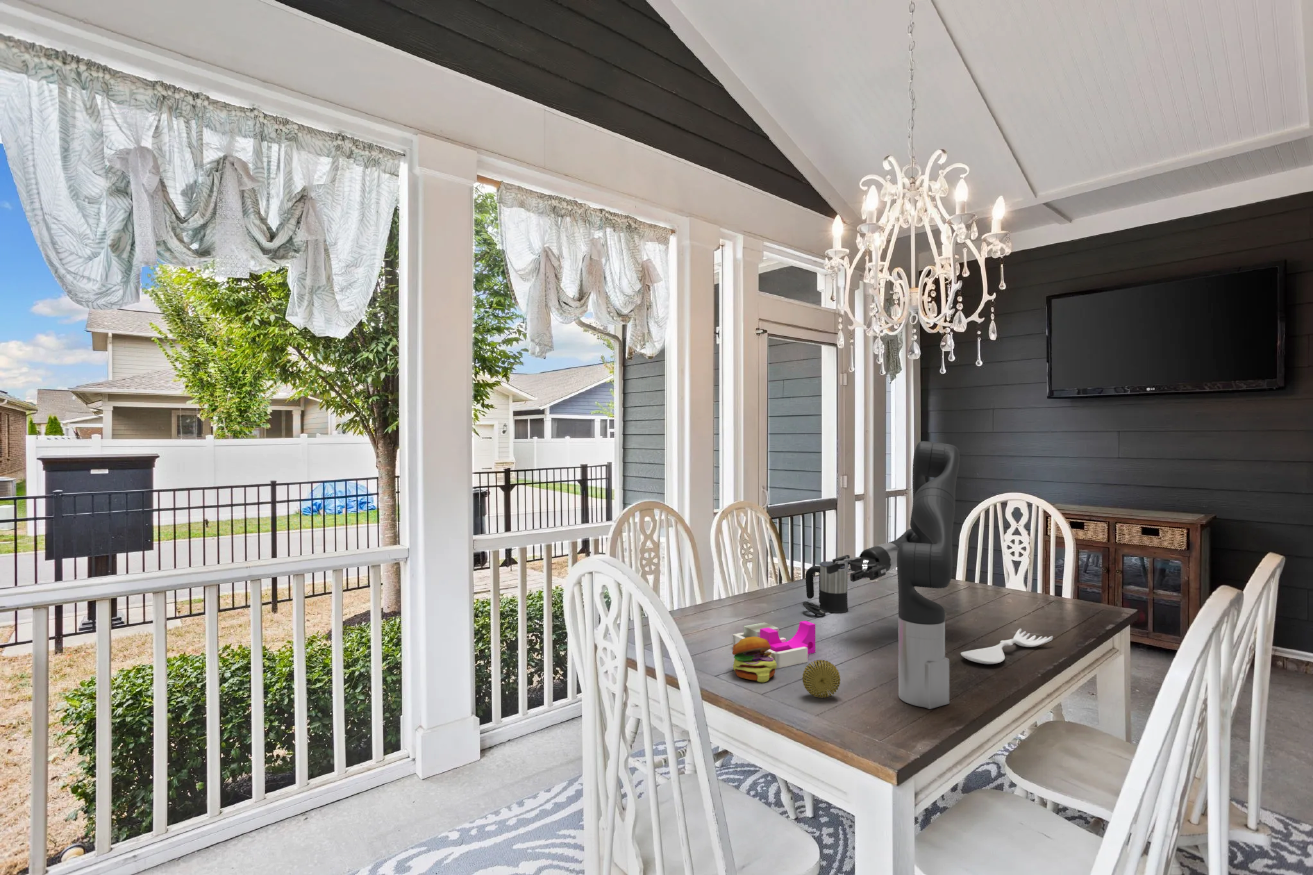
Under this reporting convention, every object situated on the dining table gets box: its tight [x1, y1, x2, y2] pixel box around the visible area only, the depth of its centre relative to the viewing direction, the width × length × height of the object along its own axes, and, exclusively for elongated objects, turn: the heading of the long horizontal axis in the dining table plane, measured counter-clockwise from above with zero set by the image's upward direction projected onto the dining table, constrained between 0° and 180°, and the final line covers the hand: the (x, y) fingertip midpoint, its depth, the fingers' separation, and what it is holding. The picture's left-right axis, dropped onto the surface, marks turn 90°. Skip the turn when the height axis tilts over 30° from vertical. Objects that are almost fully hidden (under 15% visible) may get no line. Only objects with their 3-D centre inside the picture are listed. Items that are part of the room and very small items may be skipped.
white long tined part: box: [960, 628, 1054, 665], centre depth 168 cm, size 9×32×4 cm, turn 124°
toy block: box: [760, 620, 816, 655], centre depth 167 cm, size 15×6×8 cm, turn 118°
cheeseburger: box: [732, 637, 777, 683], centre depth 155 cm, size 10×11×10 cm
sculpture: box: [802, 659, 841, 699], centre depth 141 cm, size 8×4×8 cm, turn 88°
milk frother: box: [802, 560, 850, 617], centre depth 208 cm, size 14×16×15 cm
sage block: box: [743, 622, 780, 638], centre depth 172 cm, size 6×7×6 cm
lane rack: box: [732, 632, 809, 670], centre depth 168 cm, size 18×10×4 cm, turn 28°
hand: (839, 574), depth 174 cm, fingers open, 8 cm apart
